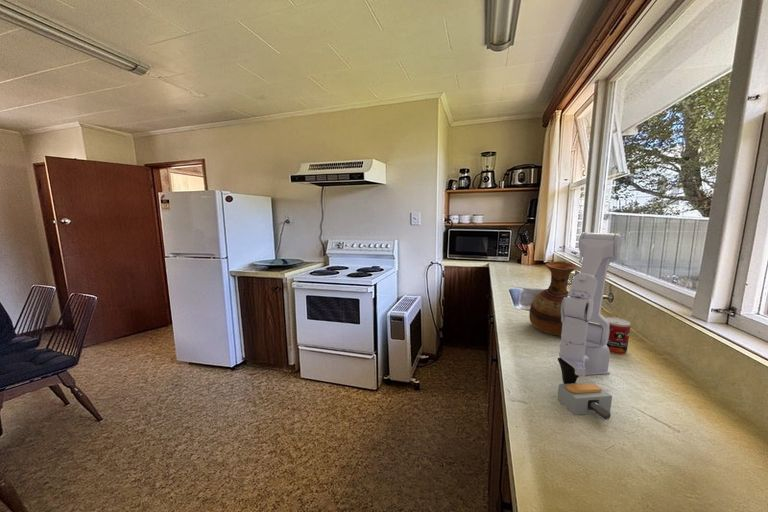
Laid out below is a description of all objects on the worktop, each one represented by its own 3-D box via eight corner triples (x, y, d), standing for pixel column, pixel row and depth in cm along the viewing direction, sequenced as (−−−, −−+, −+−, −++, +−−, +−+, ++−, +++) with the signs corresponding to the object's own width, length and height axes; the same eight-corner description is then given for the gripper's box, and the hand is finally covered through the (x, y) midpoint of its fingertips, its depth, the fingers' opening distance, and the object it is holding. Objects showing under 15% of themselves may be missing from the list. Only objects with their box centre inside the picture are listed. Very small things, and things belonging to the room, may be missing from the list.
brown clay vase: (524, 332, 123) (530, 262, 119) (532, 318, 140) (537, 256, 135) (580, 344, 112) (588, 267, 108) (581, 327, 129) (588, 260, 124)
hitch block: (591, 397, 80) (593, 382, 80) (610, 412, 75) (612, 395, 74) (557, 399, 79) (558, 384, 79) (573, 415, 74) (575, 398, 73)
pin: (566, 394, 81) (567, 383, 80) (577, 393, 81) (578, 382, 80) (599, 422, 70) (601, 410, 69) (612, 421, 70) (614, 409, 70)
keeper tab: (593, 386, 78) (593, 383, 78) (601, 391, 75) (601, 389, 75) (564, 387, 77) (564, 384, 77) (571, 393, 74) (571, 390, 74)
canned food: (604, 352, 106) (608, 323, 104) (598, 343, 113) (601, 316, 112) (630, 356, 103) (634, 326, 102) (622, 346, 111) (625, 318, 109)
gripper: (601, 354, 72) (595, 404, 74) (580, 331, 86) (575, 374, 88) (569, 350, 74) (563, 399, 76) (553, 328, 88) (549, 370, 90)
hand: (568, 385), depth 82 cm, fingers closed
